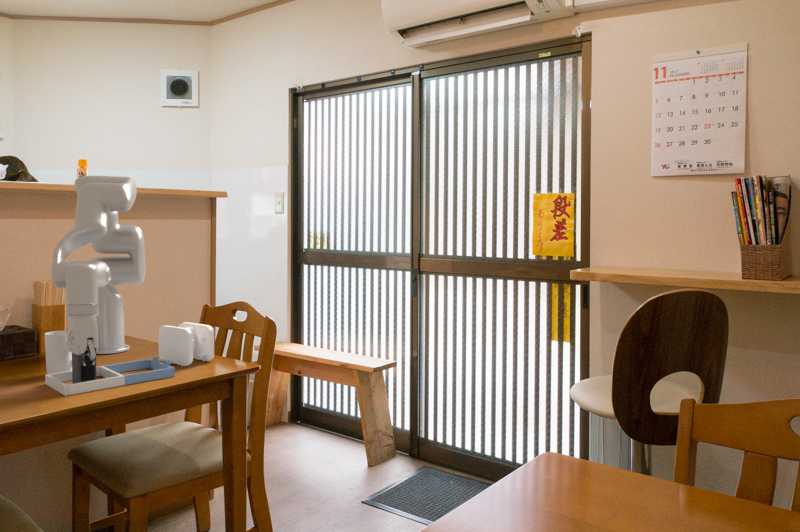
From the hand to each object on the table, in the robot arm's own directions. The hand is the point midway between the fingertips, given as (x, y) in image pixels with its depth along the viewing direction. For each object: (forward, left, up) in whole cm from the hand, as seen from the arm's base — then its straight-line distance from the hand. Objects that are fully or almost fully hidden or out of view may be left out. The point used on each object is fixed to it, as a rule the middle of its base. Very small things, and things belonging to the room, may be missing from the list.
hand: (84, 377), depth 163 cm
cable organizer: (-7, +32, -2) cm, 33 cm away
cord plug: (0, 0, -2) cm, 2 cm away
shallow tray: (0, +7, -2) cm, 7 cm away
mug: (-15, 0, -2) cm, 15 cm away
